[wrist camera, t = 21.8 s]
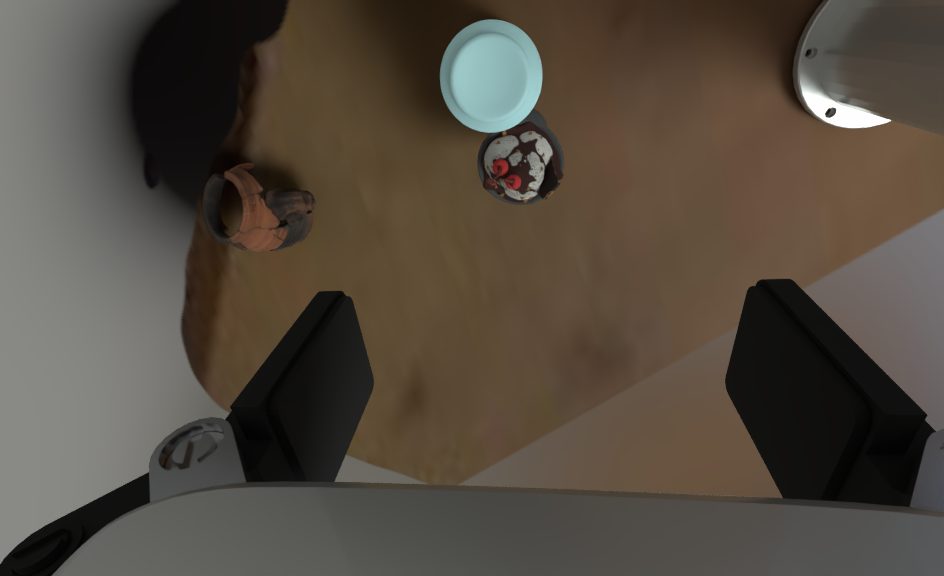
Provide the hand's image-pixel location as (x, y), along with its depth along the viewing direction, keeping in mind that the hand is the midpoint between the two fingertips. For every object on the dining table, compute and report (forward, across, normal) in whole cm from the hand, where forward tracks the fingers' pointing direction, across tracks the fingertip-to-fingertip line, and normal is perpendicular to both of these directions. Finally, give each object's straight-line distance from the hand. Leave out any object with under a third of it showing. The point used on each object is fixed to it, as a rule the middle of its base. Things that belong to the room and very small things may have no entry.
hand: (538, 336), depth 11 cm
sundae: (+36, +1, +3) cm, 37 cm away
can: (+24, +3, -3) cm, 24 cm away
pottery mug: (+37, +26, +9) cm, 47 cm away
